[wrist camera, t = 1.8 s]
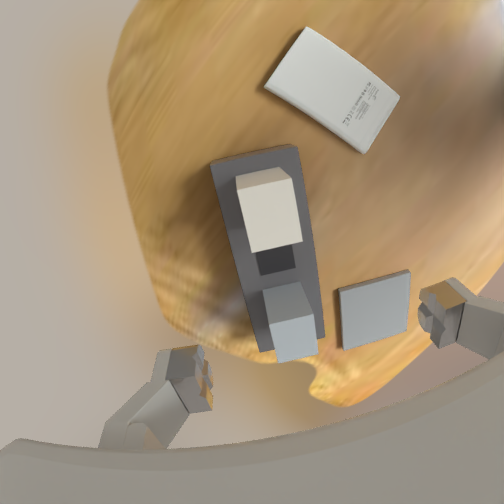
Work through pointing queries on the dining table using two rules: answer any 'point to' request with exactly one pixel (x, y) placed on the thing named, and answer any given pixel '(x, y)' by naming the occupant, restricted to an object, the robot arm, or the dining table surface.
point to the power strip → (276, 259)
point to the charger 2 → (290, 322)
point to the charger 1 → (269, 209)
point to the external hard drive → (333, 89)
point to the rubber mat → (374, 309)
